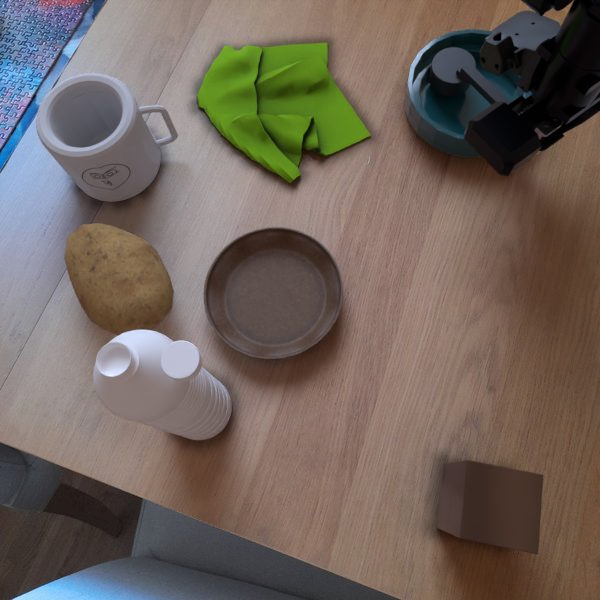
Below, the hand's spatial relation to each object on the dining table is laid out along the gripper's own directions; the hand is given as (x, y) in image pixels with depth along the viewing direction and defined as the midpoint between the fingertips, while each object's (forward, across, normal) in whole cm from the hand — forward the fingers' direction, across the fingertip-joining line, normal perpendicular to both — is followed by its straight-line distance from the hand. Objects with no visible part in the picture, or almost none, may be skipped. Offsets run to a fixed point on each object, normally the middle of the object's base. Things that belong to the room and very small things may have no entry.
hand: (529, 147), depth 62 cm
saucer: (+4, +32, -4) cm, 33 cm away
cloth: (+4, +17, -23) cm, 29 cm away
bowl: (+3, -1, -10) cm, 10 cm away
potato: (+4, +44, -14) cm, 47 cm away
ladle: (+1, 0, -7) cm, 8 cm away
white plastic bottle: (+4, +44, +2) cm, 45 cm away
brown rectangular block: (+3, +29, +25) cm, 38 cm away
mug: (+4, +36, -29) cm, 46 cm away
